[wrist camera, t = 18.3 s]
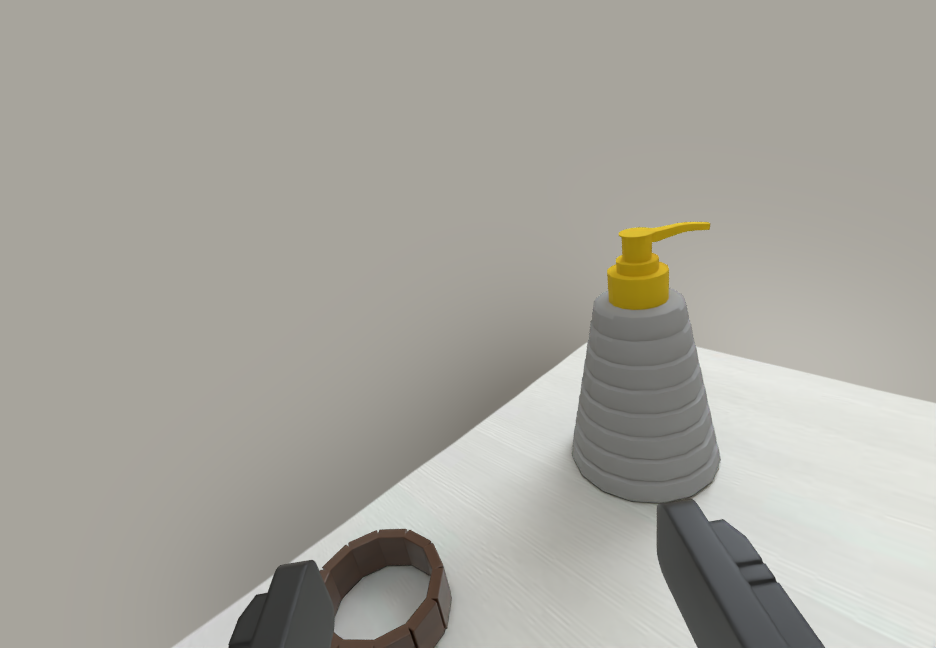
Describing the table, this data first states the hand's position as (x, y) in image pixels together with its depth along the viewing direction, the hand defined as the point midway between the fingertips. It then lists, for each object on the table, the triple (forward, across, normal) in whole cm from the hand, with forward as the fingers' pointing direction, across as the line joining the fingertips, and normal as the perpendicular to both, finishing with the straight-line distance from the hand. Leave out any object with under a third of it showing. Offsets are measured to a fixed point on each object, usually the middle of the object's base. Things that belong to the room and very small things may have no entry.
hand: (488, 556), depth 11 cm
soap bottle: (+26, -13, +22) cm, 36 cm away
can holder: (+15, +9, +21) cm, 27 cm away
